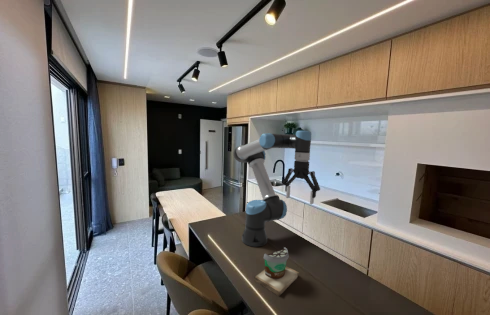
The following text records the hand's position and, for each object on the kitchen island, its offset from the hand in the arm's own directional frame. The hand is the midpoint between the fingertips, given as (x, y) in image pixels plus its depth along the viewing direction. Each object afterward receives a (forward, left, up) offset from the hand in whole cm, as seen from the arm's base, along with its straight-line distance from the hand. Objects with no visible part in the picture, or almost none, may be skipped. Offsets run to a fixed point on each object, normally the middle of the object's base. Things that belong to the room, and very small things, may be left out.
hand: (299, 200), depth 106 cm
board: (+4, -25, -29) cm, 38 cm away
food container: (+4, -25, -27) cm, 37 cm away
